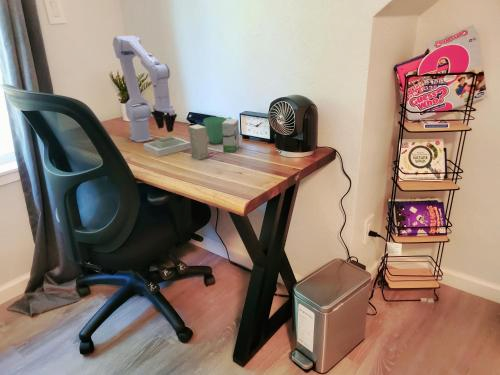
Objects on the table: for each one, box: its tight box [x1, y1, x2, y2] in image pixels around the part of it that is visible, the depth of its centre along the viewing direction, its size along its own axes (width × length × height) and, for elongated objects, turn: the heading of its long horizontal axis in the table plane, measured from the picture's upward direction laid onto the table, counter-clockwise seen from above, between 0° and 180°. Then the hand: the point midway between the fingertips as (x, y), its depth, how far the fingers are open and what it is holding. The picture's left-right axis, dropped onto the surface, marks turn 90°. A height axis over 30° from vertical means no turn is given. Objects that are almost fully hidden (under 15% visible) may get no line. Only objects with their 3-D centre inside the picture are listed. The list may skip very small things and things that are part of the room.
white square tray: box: [143, 136, 191, 157], centre depth 162 cm, size 12×15×2 cm
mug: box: [203, 116, 233, 145], centre depth 170 cm, size 15×10×10 cm
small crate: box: [154, 136, 179, 149], centre depth 162 cm, size 5×8×4 cm, turn 130°
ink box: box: [222, 118, 240, 153], centre depth 158 cm, size 9×5×12 cm, turn 168°
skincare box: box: [188, 124, 209, 161], centre depth 150 cm, size 6×4×12 cm
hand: (165, 129), depth 160 cm, fingers open, 7 cm apart
